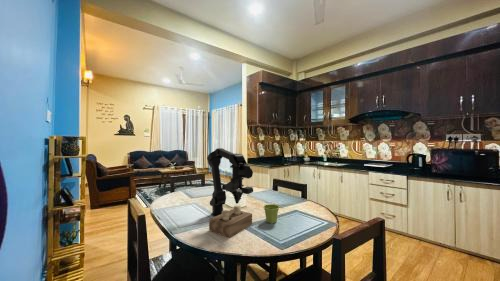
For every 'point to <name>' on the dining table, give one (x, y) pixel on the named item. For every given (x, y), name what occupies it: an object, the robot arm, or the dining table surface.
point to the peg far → (237, 210)
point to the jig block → (230, 223)
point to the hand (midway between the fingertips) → (237, 203)
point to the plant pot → (271, 212)
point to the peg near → (225, 215)
